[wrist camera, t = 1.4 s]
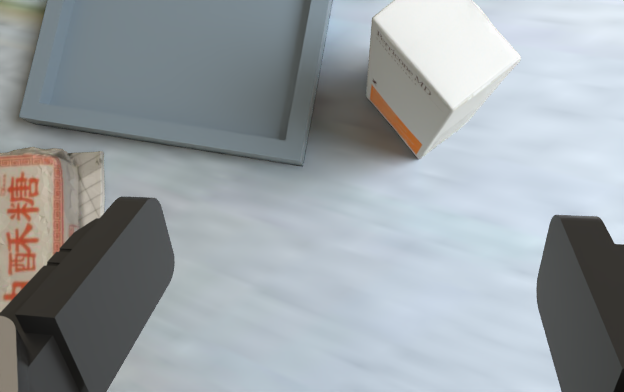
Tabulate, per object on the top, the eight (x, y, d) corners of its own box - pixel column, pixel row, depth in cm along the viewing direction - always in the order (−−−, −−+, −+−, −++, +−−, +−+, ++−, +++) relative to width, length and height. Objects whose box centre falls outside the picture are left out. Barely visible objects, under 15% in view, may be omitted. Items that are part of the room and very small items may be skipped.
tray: (34, 123, 37) (18, 117, 36) (83, -78, 39) (70, -94, 37) (302, 166, 35) (300, 161, 34) (341, -49, 37) (340, -64, 35)
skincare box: (363, 97, 36) (367, 14, 24) (411, 59, 36) (439, -42, 24) (419, 164, 35) (451, 113, 23) (468, 125, 35) (527, 54, 23)
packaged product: (-74, 147, 33) (73, 137, 32) (-20, 162, 38) (109, 153, 37) (-90, 440, 31) (69, 436, 30) (-30, 416, 36) (108, 412, 35)
